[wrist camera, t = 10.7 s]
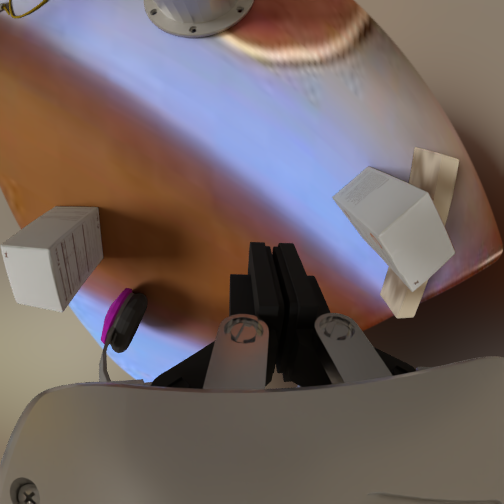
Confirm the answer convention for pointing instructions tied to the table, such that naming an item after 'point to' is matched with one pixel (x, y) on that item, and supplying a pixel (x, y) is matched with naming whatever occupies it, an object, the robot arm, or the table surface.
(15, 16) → the extension cord
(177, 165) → the table surface
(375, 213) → the small box
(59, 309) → the supplement box
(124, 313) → the headphones
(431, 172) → the birch board
